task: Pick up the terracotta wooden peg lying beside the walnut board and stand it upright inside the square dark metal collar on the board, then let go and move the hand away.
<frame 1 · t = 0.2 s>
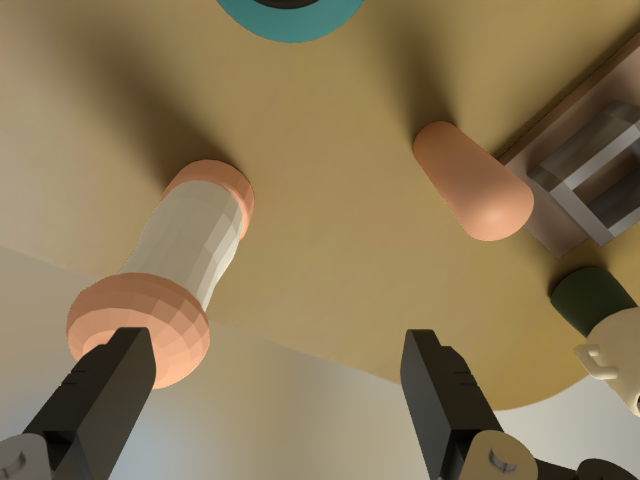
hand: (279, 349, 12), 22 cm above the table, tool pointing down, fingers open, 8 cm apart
holder: (615, 135, 31), on the table
peg: (436, 145, 31), on the table
pepper shaker: (214, 196, 33), on the table
character mug: (576, 286, 39), on the table
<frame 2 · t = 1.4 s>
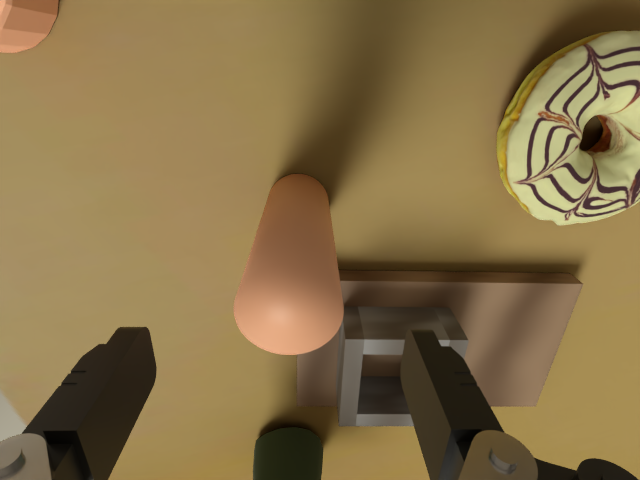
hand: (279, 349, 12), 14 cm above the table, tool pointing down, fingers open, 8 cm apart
holder: (423, 336, 29), on the table
peg: (298, 203, 24), on the table
character mug: (289, 441, 34), on the table
decorated donut: (568, 131, 23), on the table
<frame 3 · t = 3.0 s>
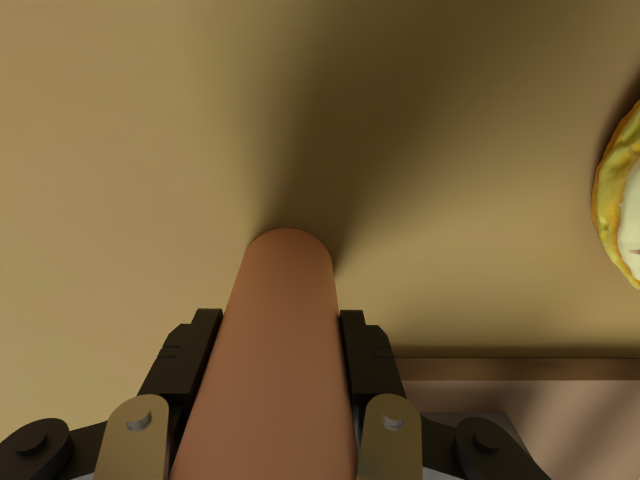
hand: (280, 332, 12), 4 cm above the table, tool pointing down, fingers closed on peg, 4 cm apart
holder: (461, 438, 21), on the table
peg: (287, 269, 16), on the table, touching gripper
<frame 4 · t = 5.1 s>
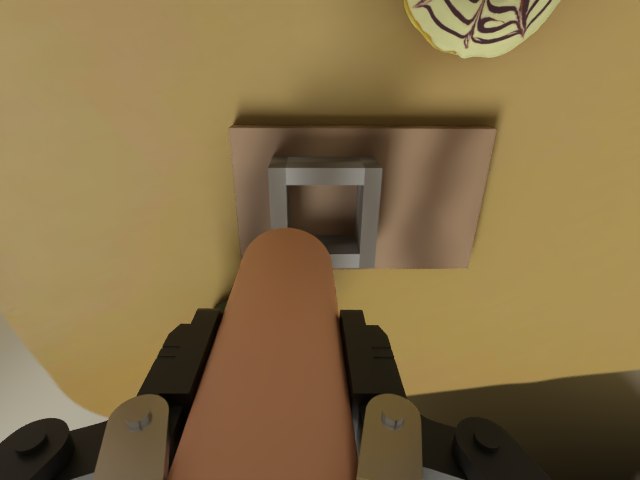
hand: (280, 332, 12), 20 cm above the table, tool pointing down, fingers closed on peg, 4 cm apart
holder: (357, 198, 31), on the table
peg: (287, 269, 16), point 15 cm above the table, touching gripper
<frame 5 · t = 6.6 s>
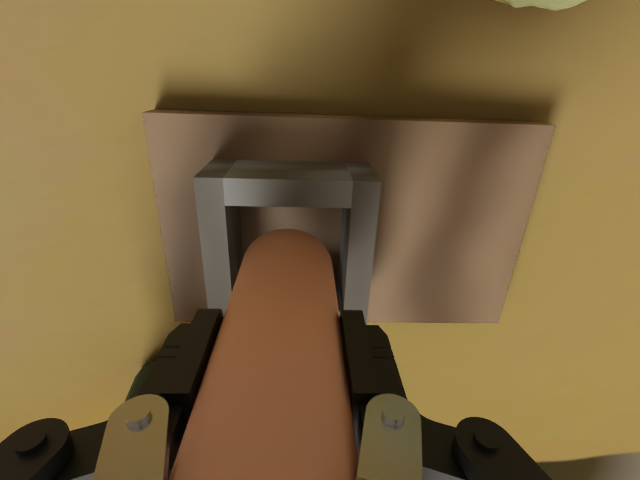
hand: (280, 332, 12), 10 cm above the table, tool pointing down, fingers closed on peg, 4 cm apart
holder: (343, 222, 22), on the table
peg: (287, 270, 16), point 6 cm above the table, touching gripper
character mug: (184, 380, 26), on the table
when the fingers open (7 cm above the table, at t = 7.6 s): peg stays where it is, resting on holder.
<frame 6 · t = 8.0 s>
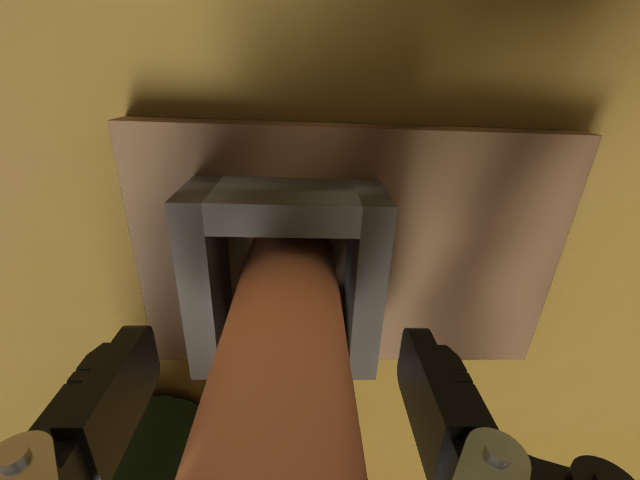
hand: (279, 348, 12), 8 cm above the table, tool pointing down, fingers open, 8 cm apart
holder: (348, 246, 19), on the table
peg: (291, 259, 17), point 2 cm above the table, touching holder
character mug: (168, 419, 24), on the table
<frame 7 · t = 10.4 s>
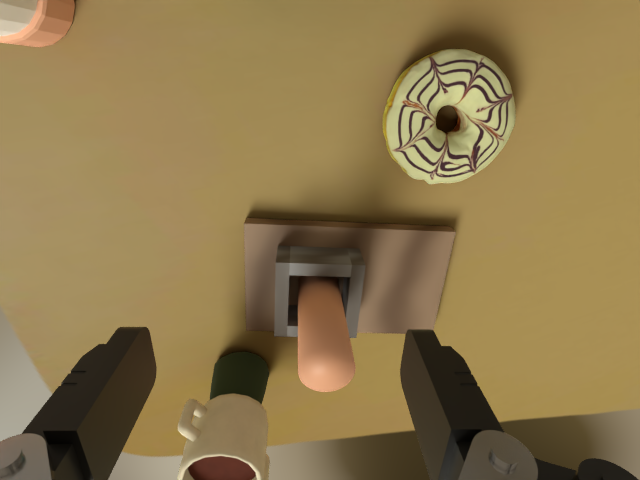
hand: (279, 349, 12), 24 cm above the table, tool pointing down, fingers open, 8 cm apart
holder: (344, 276, 38), on the table
peg: (318, 282, 36), point 2 cm above the table, touching holder
character mug: (242, 367, 42), on the table
decorated donut: (438, 118, 33), on the table
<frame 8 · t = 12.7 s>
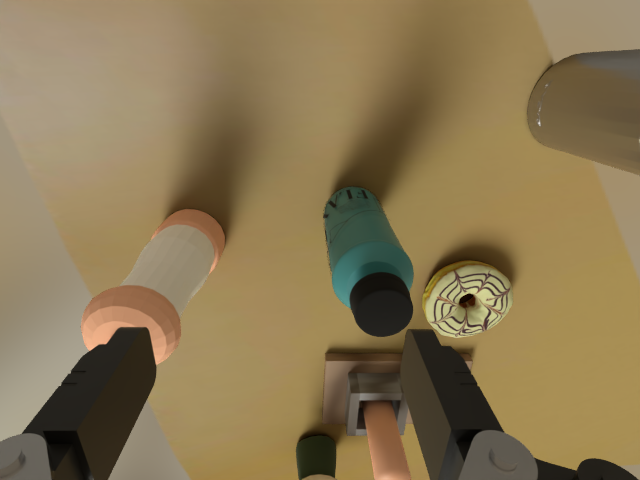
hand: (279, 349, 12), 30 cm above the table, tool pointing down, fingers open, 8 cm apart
holder: (392, 385, 53), on the table
peg: (374, 393, 52), point 2 cm above the table, touching holder
pepper shaker: (194, 237, 43), on the table
beverage bottle: (350, 208, 42), on the table
character mug: (315, 443, 58), on the table
decorated donut: (459, 290, 47), on the table
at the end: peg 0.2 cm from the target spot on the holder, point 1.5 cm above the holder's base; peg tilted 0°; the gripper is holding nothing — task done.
